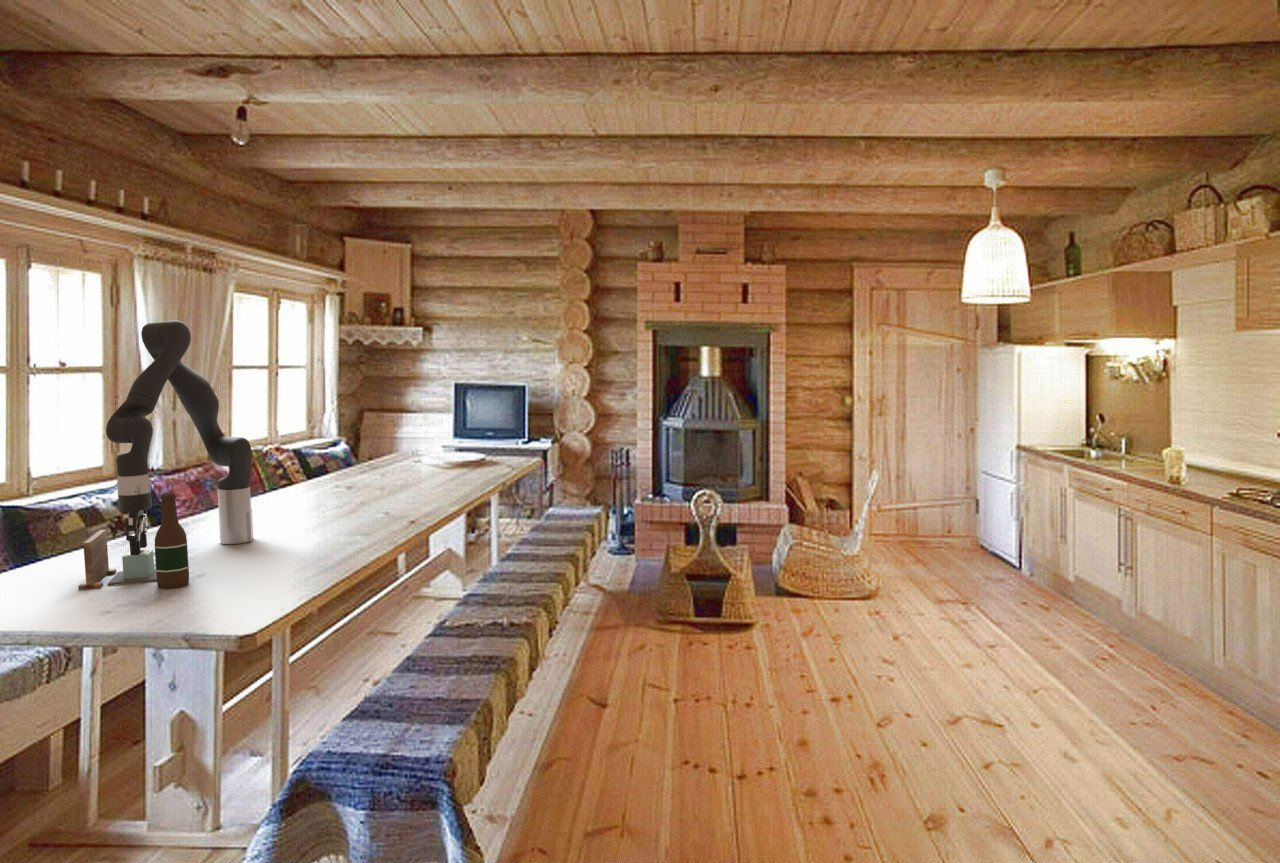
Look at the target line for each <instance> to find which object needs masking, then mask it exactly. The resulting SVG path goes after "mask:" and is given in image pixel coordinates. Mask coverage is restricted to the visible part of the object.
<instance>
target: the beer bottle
mask: <svg viewBox="0 0 1280 863" xmlns="http://www.w3.org/2000/svg"><path fill="white" fill-rule="evenodd" d="M176 498H177V496H176V493H174V492H163V493H161V494H160V498H159V499H160V500H161V520H160V521H161V522H160V526H159V528H158V529H157V530H156V534H155V538H154V558H155V559H154V560H155V561H154V562H155V569H156V577H157V581H156V585H157V588H158V589H161V590H173V589H180V588H183V587H186V586H189V583H190V570H189V568H190V567H189V553H188V552H189V551H188V536H187V533H186V531H185V529H184V528H183V526H182V525H181V524H180V522H179V519H178V512H177V503H176Z"/></svg>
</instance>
